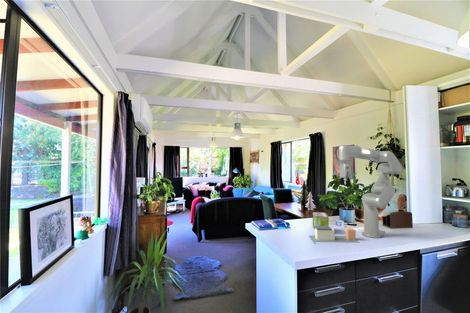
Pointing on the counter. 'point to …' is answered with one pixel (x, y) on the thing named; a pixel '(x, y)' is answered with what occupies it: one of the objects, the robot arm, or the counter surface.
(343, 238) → the ticket board
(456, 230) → the counter surface
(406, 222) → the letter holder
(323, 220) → the tea box
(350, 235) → the stub
